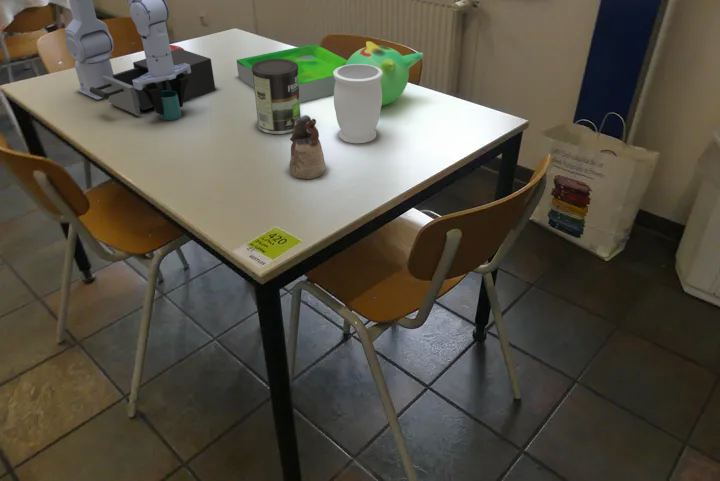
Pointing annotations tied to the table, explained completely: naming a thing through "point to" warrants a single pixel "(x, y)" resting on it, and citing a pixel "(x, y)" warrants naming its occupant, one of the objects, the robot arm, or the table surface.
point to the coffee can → (276, 95)
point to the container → (170, 105)
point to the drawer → (125, 90)
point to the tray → (301, 69)
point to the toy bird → (387, 67)
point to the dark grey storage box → (197, 79)
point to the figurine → (306, 150)
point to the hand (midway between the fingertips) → (169, 109)
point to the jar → (357, 101)
